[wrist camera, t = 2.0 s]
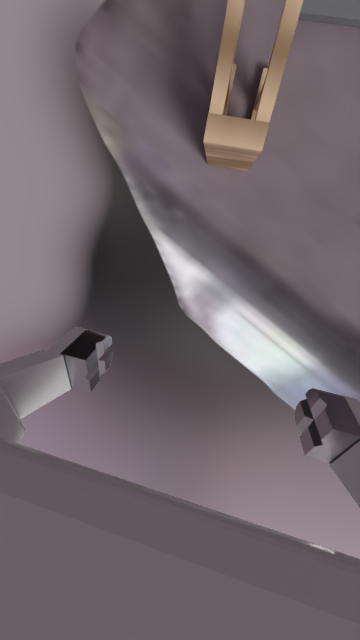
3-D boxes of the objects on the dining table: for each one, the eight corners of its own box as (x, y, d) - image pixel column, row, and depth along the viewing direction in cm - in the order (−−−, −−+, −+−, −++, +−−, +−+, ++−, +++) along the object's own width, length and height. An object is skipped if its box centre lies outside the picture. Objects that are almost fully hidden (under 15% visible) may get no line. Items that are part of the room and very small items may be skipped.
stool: (247, 171, 28) (261, 151, 19) (207, 164, 28) (203, 141, 19) (272, 76, 23) (306, -7, 15) (225, 69, 24) (230, -16, 15)
